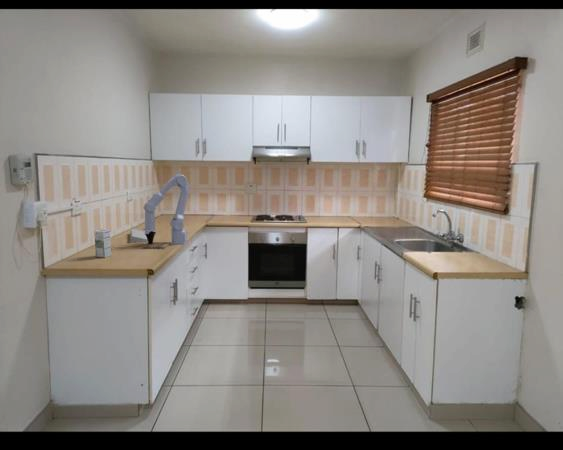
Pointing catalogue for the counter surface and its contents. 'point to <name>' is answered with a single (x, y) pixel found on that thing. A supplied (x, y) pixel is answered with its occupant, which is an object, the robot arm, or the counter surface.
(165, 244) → the laid plank
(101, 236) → the syrup box
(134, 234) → the decorative molding
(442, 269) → the counter surface
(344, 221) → the counter surface
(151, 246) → the board
